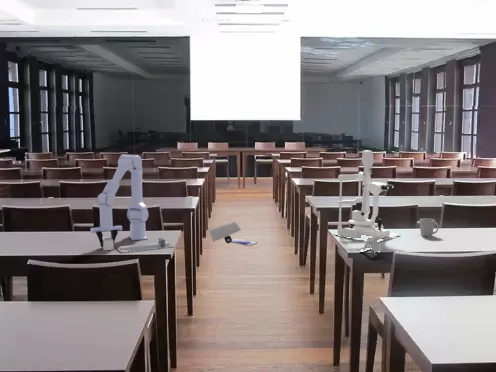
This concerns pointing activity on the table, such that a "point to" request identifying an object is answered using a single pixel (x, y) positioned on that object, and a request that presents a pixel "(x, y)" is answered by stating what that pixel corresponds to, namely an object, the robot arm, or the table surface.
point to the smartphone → (243, 242)
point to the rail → (147, 246)
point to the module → (107, 243)
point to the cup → (427, 226)
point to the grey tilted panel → (224, 231)
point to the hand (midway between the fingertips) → (107, 246)
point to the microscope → (364, 204)
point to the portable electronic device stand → (373, 243)
